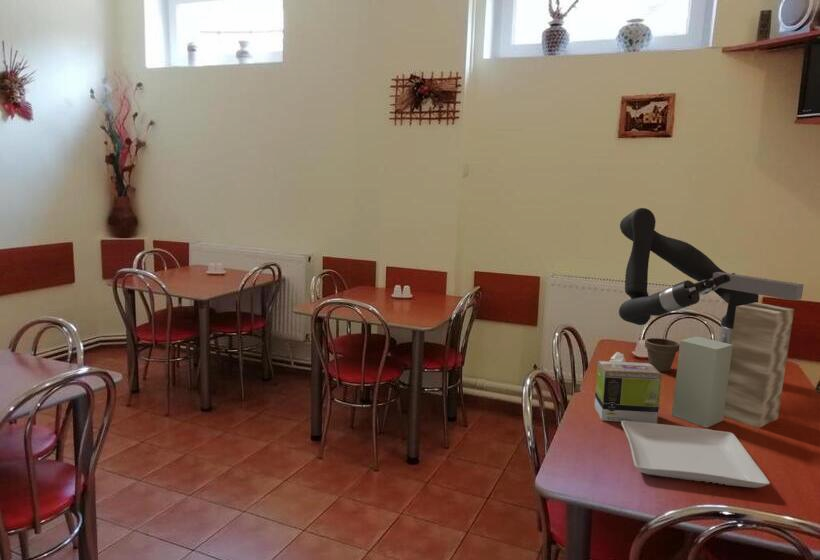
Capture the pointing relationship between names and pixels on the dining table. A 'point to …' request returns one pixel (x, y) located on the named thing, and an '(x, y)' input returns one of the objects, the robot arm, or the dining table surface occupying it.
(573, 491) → the dining table surface
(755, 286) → the metal bar
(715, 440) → the square plate
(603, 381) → the tea box
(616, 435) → the dining table surface
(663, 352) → the flower pot
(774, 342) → the tall stand
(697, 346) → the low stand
